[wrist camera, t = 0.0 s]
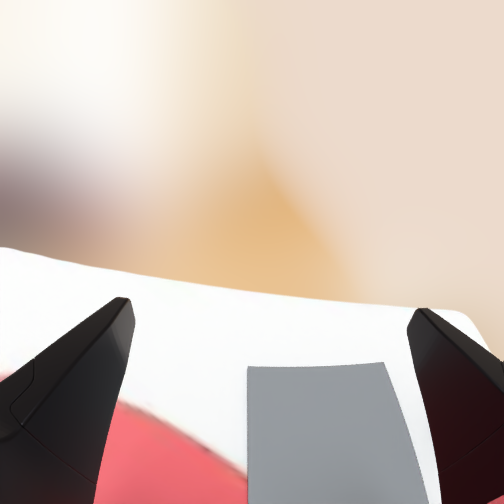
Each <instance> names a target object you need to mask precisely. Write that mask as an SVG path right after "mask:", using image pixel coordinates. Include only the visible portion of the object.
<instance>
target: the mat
mask: <svg viewBox="0 0 504 504" xmlns="http://www.w3.org/2000/svg"><path fill="white" fill-rule="evenodd" d="M248 504H429V502H428V498H427V494H426V490H425V486H424V482H423V478H422V475H421V471H420V467H419V464H418V460H417V457H416V454H415V450H414V447H413V444H412V441H411V437H410V434H409V431H408V428H407V425H406V422H405V419H404V416H403V413H402V410H401V407H400V405H399V402H398V399H397V396H396V393H395V391H394V388H393V385H392V383H391V380H390V377H389V375H388V372H387V370H386V367H385V364H384V362H380V363H369V364H356V365H340V366H318V367H253V366H248Z"/></svg>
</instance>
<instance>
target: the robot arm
mask: <svg viewBox="0 0 504 504" xmlns="http://www.w3.org/2000/svg"><path fill="white" fill-rule="evenodd" d="M134 328H135V316H134V312H133V308H132V304H131V301H130V299H128V298H123V297H116V298H114V299H113V300H112V301H110V302H109V303H107V304H106V305H105V306H103V307H102V308H100V309H99V310H98V311H96V312H95V313H93V314H92V315H91V316H89V317H88V318H86V319H85V320H84V321H82V322H81V323H80V324H78V325H77V326H75V327H74V328H73V329H71V330H70V331H69V332H67V333H66V334H65V335H63V336H62V337H61V338H59V339H58V340H57V341H55V342H54V343H53V344H51V345H50V346H49V347H47V348H46V349H45V350H43V351H42V352H41V353H39V354H38V355H37V356H36V357H35V359H32V360H30V361H29V362H28V363H26V364H25V365H24V366H22V367H21V368H20V369H18V370H17V371H16V372H14V373H13V374H12V375H10V376H9V377H7V378H6V379H4V380H3V381H1V382H0V504H93V502H94V497H95V491H96V484H97V480H98V475H99V470H100V466H101V461H102V456H103V452H104V448H105V444H106V440H107V435H108V431H109V428H110V424H111V420H112V416H113V412H114V409H115V405H116V402H117V398H118V395H119V391H120V388H121V385H122V381H123V378H124V375H125V371H126V367H127V363H128V357H129V352H130V347H131V342H132V338H133V333H134ZM407 336H408V340H409V345H410V349H411V354H412V359H413V364H414V369H415V373H416V377H417V380H418V384H419V387H420V391H421V395H422V398H423V402H424V406H425V410H426V414H427V418H428V423H429V427H430V432H431V436H432V441H433V446H434V452H435V457H436V463H437V469H438V476H439V484H440V491H441V500H442V504H504V363H503V362H502V361H500V360H499V359H498V358H496V357H495V356H494V355H493V354H491V353H490V352H489V351H487V350H486V349H485V348H483V347H482V346H481V345H479V344H478V343H476V342H475V341H474V340H472V339H471V338H470V337H468V336H467V335H465V334H464V333H463V332H461V331H460V330H458V329H457V328H456V327H454V326H453V325H451V324H450V323H449V322H447V321H446V320H444V319H443V318H441V317H440V316H439V315H437V314H436V313H434V312H433V311H431V310H430V309H428V308H418V309H417V310H416V311H415V312H414V314H413V316H412V318H411V320H410V322H409V324H408V326H407Z"/></svg>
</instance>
